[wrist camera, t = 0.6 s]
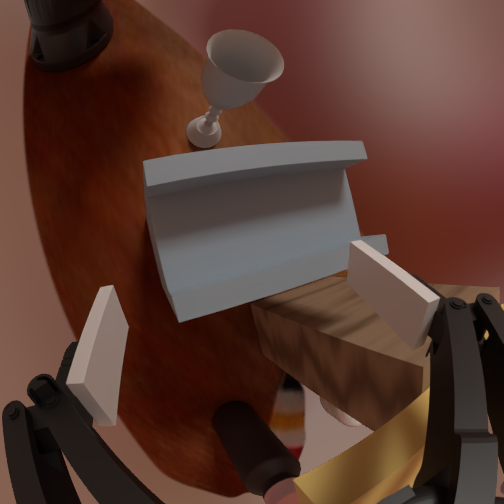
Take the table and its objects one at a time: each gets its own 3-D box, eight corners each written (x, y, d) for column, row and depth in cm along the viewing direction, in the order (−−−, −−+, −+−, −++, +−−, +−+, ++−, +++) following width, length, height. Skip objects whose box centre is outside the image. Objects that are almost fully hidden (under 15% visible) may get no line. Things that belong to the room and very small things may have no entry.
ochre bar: (292, 479, 10) (326, 516, 7) (502, 304, 18) (526, 305, 15) (302, 514, 10) (330, 545, 7) (499, 340, 18) (522, 344, 15)
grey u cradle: (146, 217, 34) (142, 161, 14) (259, 194, 40) (362, 141, 20) (162, 286, 35) (179, 322, 15) (273, 256, 40) (388, 253, 20)
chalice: (233, 121, 39) (289, 47, 22) (222, 160, 38) (277, 94, 21) (187, 106, 36) (219, 21, 19) (172, 145, 35) (195, 65, 19)
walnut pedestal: (250, 303, 39) (423, 366, 13) (330, 276, 44) (499, 287, 17) (262, 354, 39) (414, 454, 13) (338, 322, 44) (494, 362, 18)
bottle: (262, 415, 39) (334, 490, 20) (231, 441, 37) (287, 526, 18) (235, 392, 38) (303, 474, 19) (202, 420, 36) (249, 514, 17)
